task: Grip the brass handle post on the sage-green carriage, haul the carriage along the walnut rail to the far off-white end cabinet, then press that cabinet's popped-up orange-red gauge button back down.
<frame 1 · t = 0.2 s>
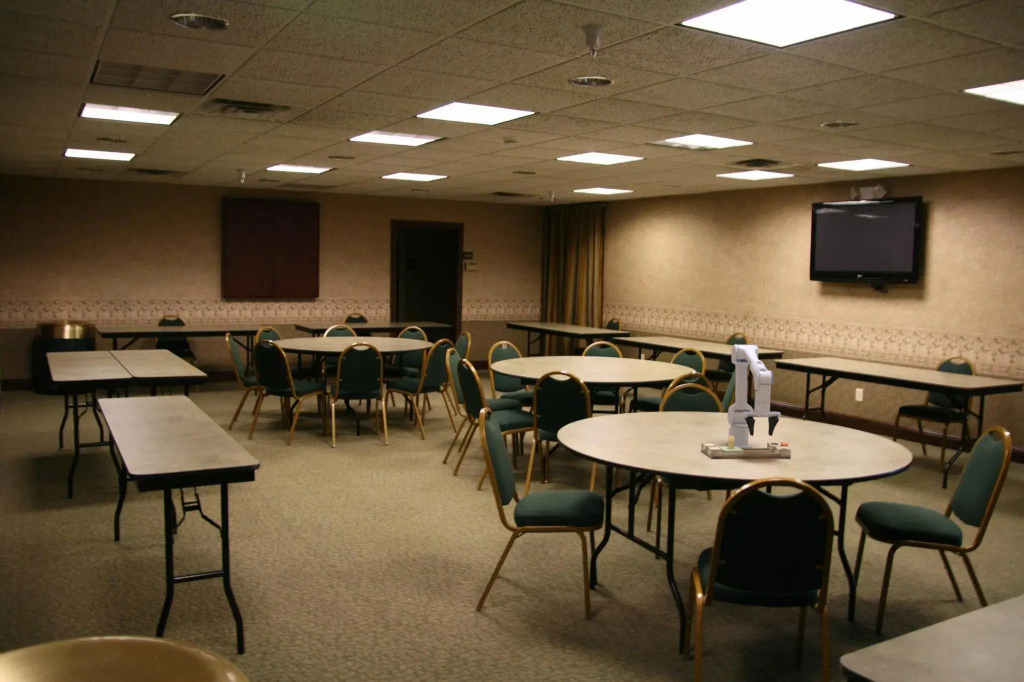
hand: (761, 435, 312), 10 cm above the table, tool pointing down, fingers open, 7 cm apart
rail: (745, 454, 322), on the table
gauge button: (784, 444, 318), point 5 cm above the table, slide at 0.0 cm
carriage: (731, 444, 321), point 4 cm above the table, slide at 0.0 cm
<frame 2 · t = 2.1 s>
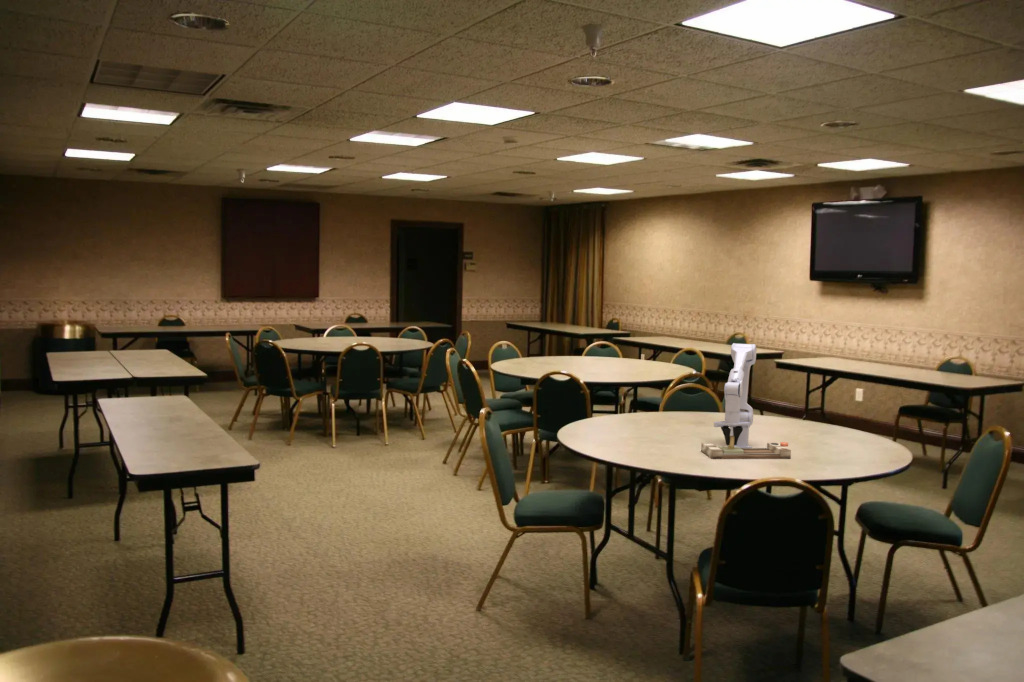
hand: (731, 444, 321), 4 cm above the table, tool pointing down, fingers closed on carriage, 2 cm apart
carriage: (731, 444, 321), point 4 cm above the table, slide at 0.0 cm, touching gripper
everything else where it was.
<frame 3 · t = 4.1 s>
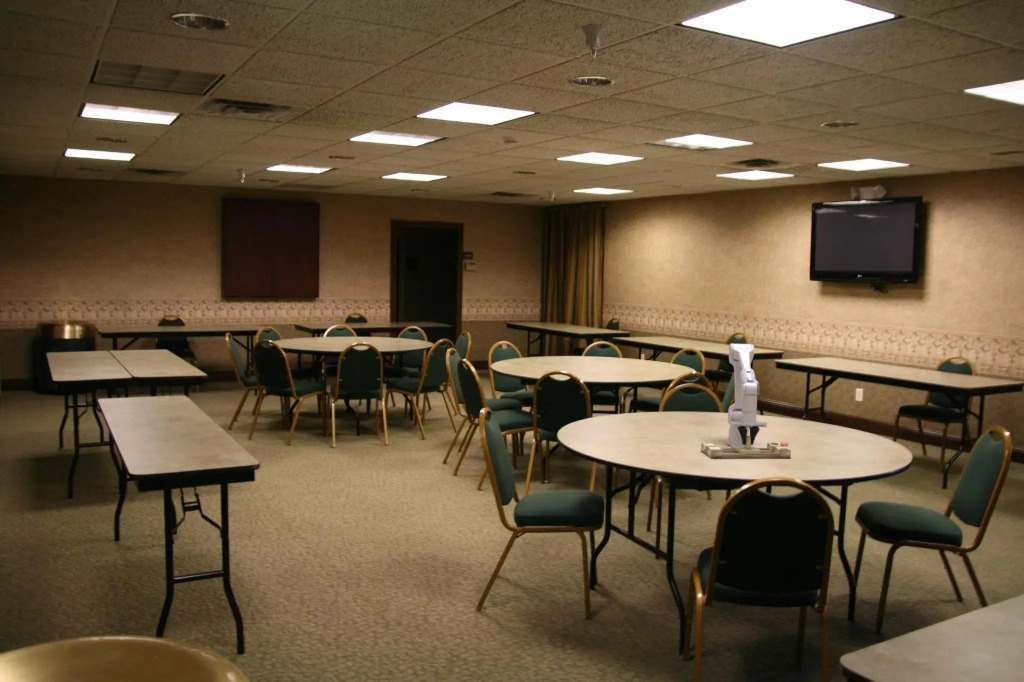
hand: (747, 444, 322), 4 cm above the table, tool pointing down, fingers closed on carriage, 2 cm apart
carriage: (747, 444, 322), point 4 cm above the table, slide at 6.9 cm, touching gripper
everything else where it was.
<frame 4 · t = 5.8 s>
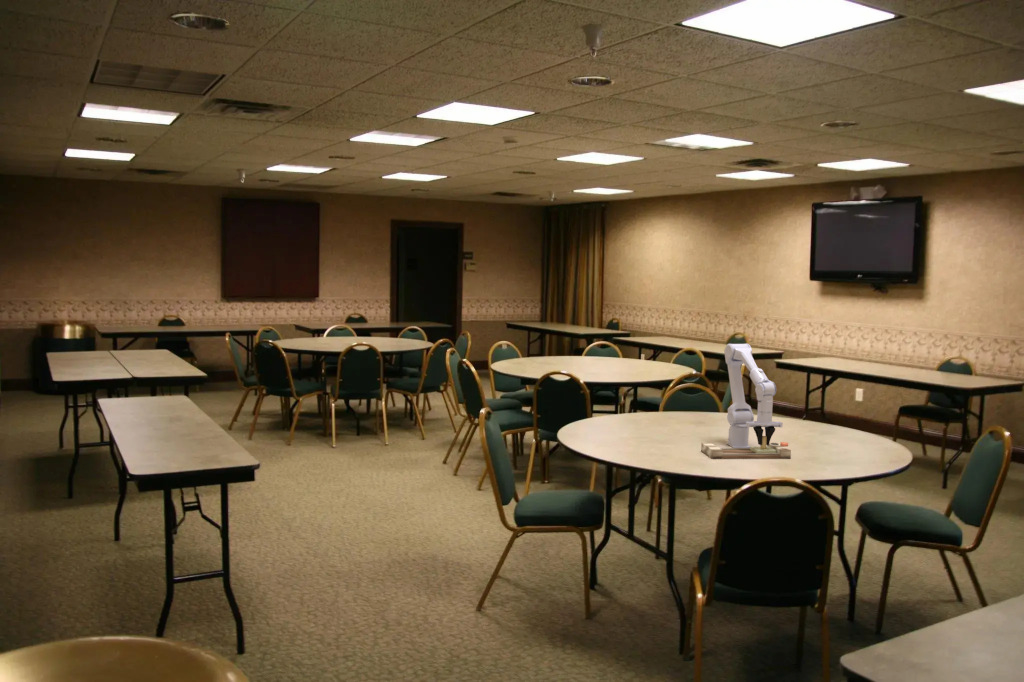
hand: (763, 444, 322), 4 cm above the table, tool pointing down, fingers closed on carriage, 2 cm apart
carriage: (763, 444, 322), point 4 cm above the table, slide at 13.5 cm, touching gripper
everything else where it was.
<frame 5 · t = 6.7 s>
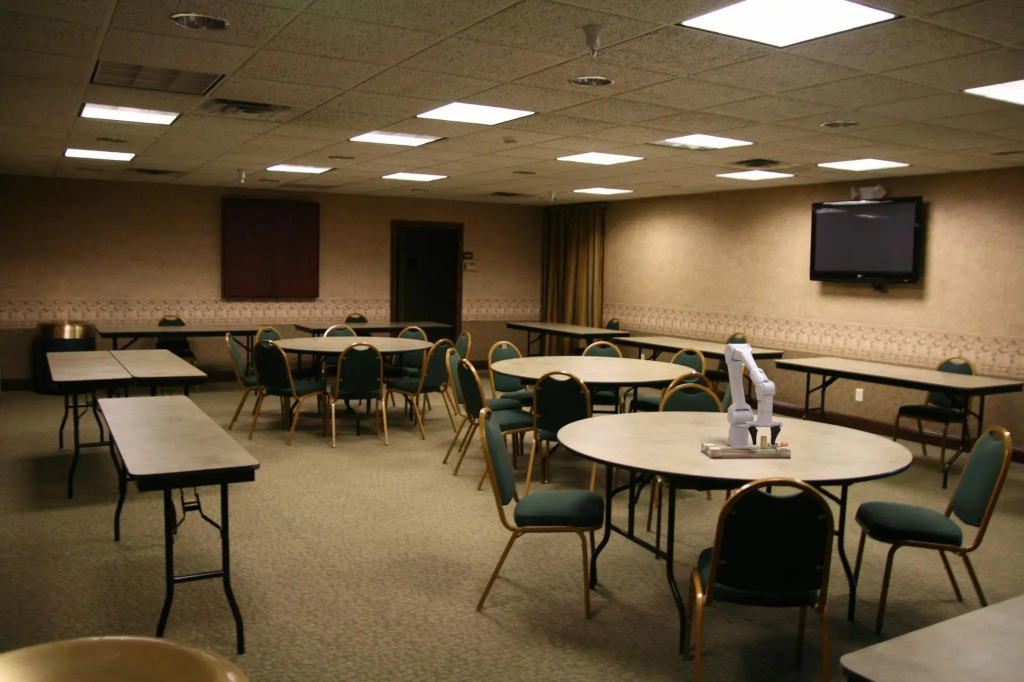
hand: (763, 444, 322), 4 cm above the table, tool pointing down, fingers open, 7 cm apart
carriage: (763, 444, 322), point 4 cm above the table, slide at 13.5 cm
everything else where it was.
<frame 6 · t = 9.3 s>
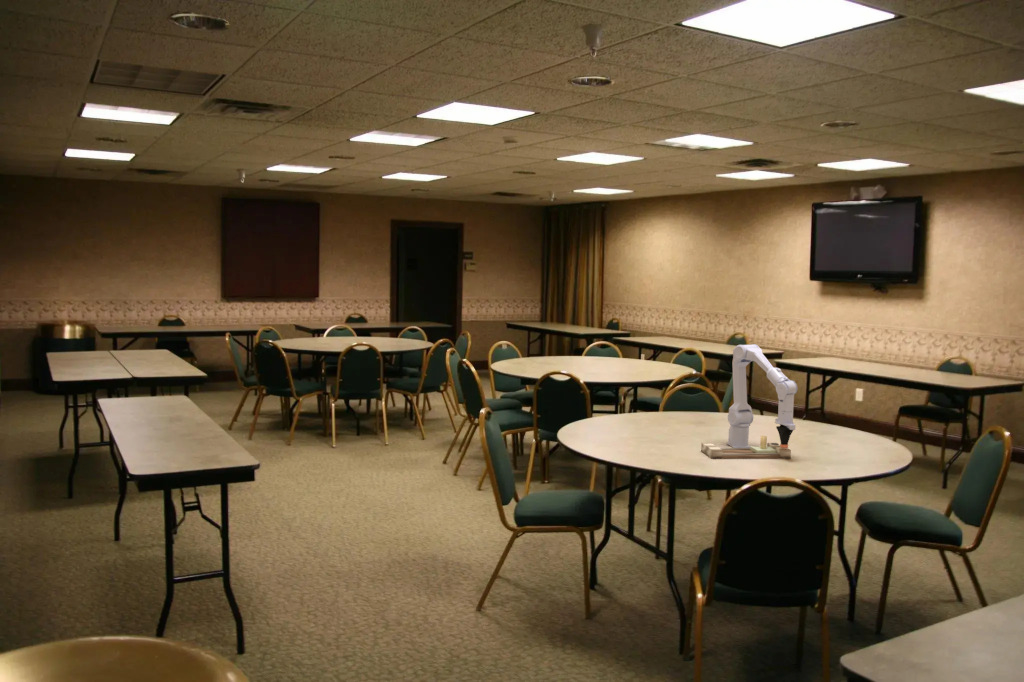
hand: (784, 444, 318), 5 cm above the table, tool pointing down, fingers closed, pressing on gauge button
gauge button: (784, 445, 318), point 5 cm above the table, slide at 0.6 cm, touching gripper
everything else where it was.
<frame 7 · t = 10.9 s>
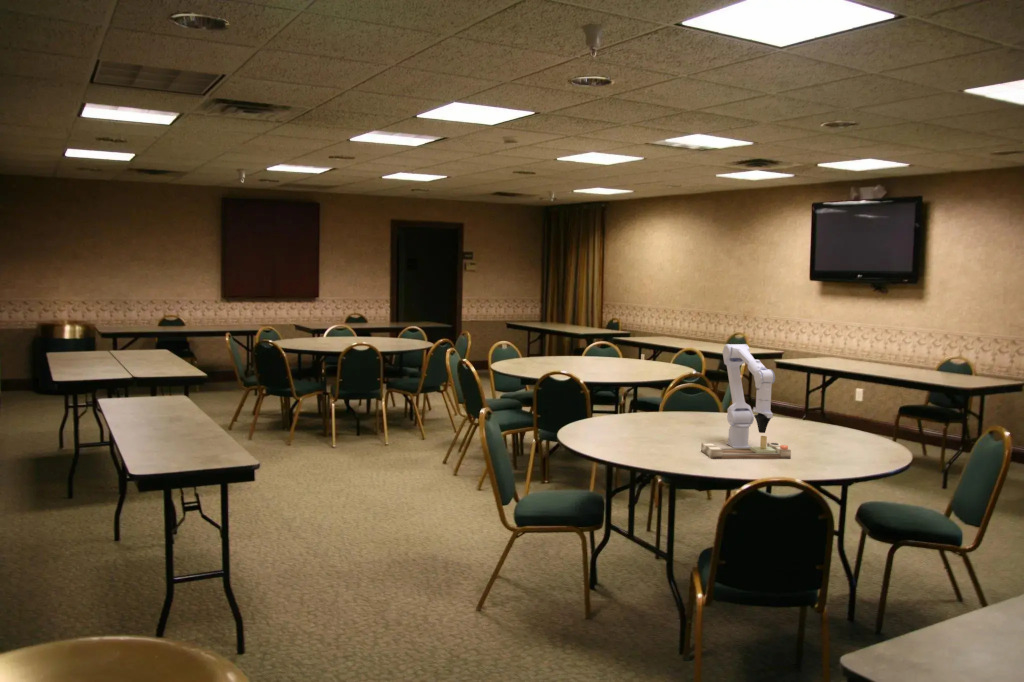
hand: (761, 432, 321), 9 cm above the table, tool pointing down, fingers closed
gauge button: (784, 447, 318), point 4 cm above the table, slide at 1.2 cm
everything else where it was.
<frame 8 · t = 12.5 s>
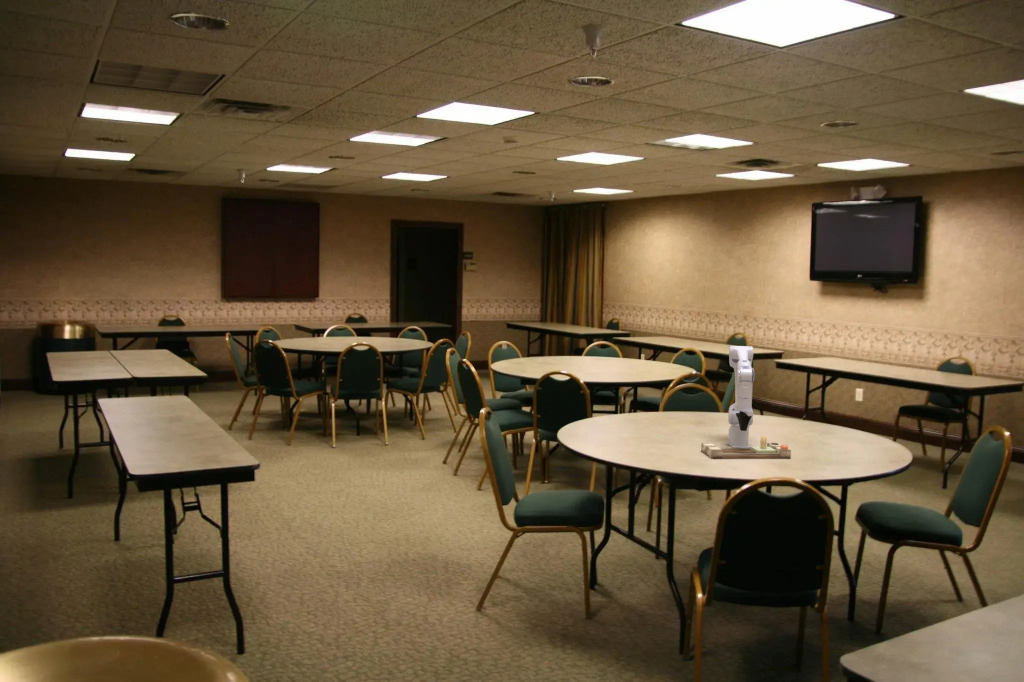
hand: (743, 430, 324), 9 cm above the table, tool pointing down, fingers closed
nothing on the table moved.
at the end: carriage slide at 13.5 cm; gauge button slide at 1.2 cm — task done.
